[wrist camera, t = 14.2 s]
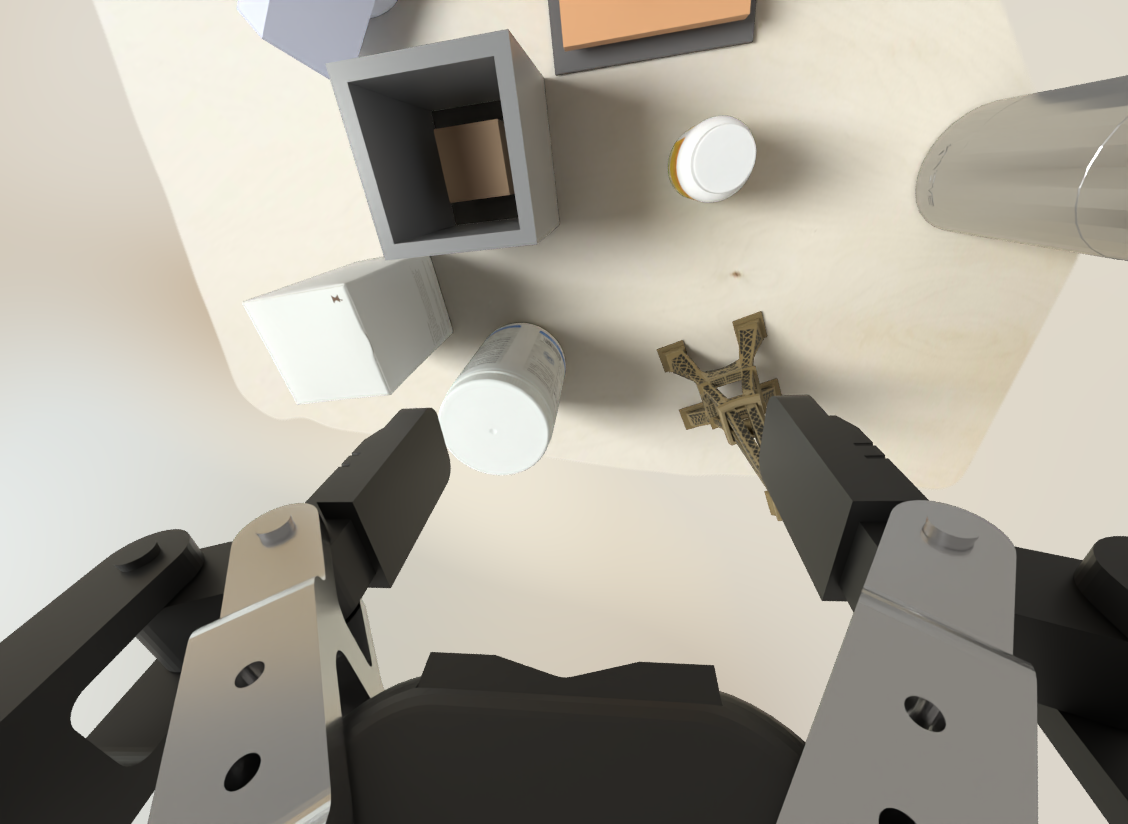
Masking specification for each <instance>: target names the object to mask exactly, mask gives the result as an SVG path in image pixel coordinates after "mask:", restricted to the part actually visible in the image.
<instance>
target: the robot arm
mask: <svg viewBox="0 0 1128 824" xmlns="http://www.w3.org/2000/svg"><path fill="white" fill-rule="evenodd" d="M915 192H916V203H917V206H918V209H919V211H920V213H921V215H922V216H923V217H924V219H925V220H926V221H927V222H929V223H930V224H931V225H933V226H934V227H937V228H939V229H942V230H946V231H952V232H958V233H964V234H970V235H976V236H980V237H986V238H992V239H998V240H1004V241H1010V242H1016V243H1022V244H1028V245H1034V246H1040V247H1046V248H1052V249H1058V250H1064V251H1070V252H1076V253H1082V254H1088V255H1094V256H1100V257H1106V258H1112V259H1117V260H1125V261H1128V75H1127V76H1122V77H1116V78H1112V79H1107V80H1101V81H1096V82H1091V83H1086V84H1081V85H1076V86H1070V87H1066V88H1060V89H1055V90H1049V91H1044V92H1038V93H1033V94H1028V95H1023V96H1018V97H1013V98H1008V99H1002V100H997V101H994V102H991V103H988V104H985V105H982V106H980V107H978V108H976V109H974V110H972V111H970V112H969V113H967V114H965V115H964V116H963V117H961V118H960V119H959V120H957V121H956V122H954V123H953V124H952V125H951V126H950V127H949V128H948V129H947V130H946V131H945V132H944V133H943V134H942V135H941V136H940V137H939V138H938V140H937V141H936V142H935V143H934V145H933V146H932V147H931V149H930V150H929V152H928V154H927V156H926V157H925V159H924V161H923V163H922V165H921V168H920V171H919V174H918V177H917V183H916V189H915ZM759 466H760V473H761V476H762V479H763V482H764V484H765V486H766V488H767V490H768V492H769V494H770V496H771V498H772V500H773V502H774V504H775V506H776V508H777V510H778V512H779V514H780V516H781V518H782V520H783V522H784V524H785V526H786V528H787V530H788V533H789V535H790V536H791V539H792V541H793V543H794V545H795V547H796V549H797V551H798V553H799V555H800V557H801V559H802V561H803V563H804V565H805V567H806V569H807V571H808V573H809V575H810V577H811V579H812V581H813V583H814V586H815V588H816V590H817V592H818V594H819V596H820V598H821V600H822V601H848V603H849V605H850V607H851V609H852V610H853V612H854V613H853V616H852V619H851V621H850V624H849V627H848V629H847V632H846V635H845V638H844V640H843V643H842V646H841V648H840V651H839V654H838V656H837V659H836V662H835V664H834V667H833V670H832V673H831V675H830V678H829V681H828V684H827V686H826V689H825V692H824V694H823V697H822V700H821V703H820V705H819V708H818V711H817V713H816V716H815V719H814V721H813V724H812V727H811V729H810V732H809V735H808V737H807V740H806V742H804V741H803V740H802V739H801V738H800V737H799V736H797V735H796V734H795V733H794V732H793V731H792V730H790V729H789V728H788V727H786V726H785V725H783V724H782V723H781V722H779V721H778V720H776V719H775V718H774V717H772V716H771V715H769V714H767V713H766V712H764V711H762V710H761V709H759V708H757V707H755V706H753V705H752V704H750V703H748V702H746V701H743V700H741V699H739V698H737V697H735V696H732V695H730V694H727V693H724V692H721V691H719V688H718V683H717V678H716V673H715V668H714V665H695V664H674V663H652V662H637V663H632V664H628V665H623V666H619V667H614V668H610V669H605V670H601V671H596V672H592V673H587V674H583V675H578V676H574V677H567V678H563V677H558V676H554V675H552V674H548V673H546V672H543V671H540V670H537V669H534V668H531V667H528V666H525V665H523V664H520V663H517V662H514V661H511V660H508V659H505V658H502V657H499V656H496V655H482V654H461V653H460V654H459V653H438V652H431V653H430V655H429V658H428V660H427V663H426V666H425V668H424V671H423V673H422V676H421V677H416V678H413V679H410V680H408V681H405V682H402V683H399V684H397V685H395V686H393V687H391V688H388V689H387V690H384V687H383V684H382V681H381V677H380V672H379V667H378V663H377V658H376V653H375V648H374V644H373V639H372V634H371V629H370V624H369V620H368V615H367V610H366V606H365V604H364V602H363V600H362V596H363V595H364V593H365V591H366V590H367V588H368V587H369V588H370V587H371V588H391V587H392V585H393V583H394V581H395V579H396V577H397V576H398V574H399V572H400V570H401V568H402V566H403V564H404V563H405V561H406V559H407V557H408V555H409V553H410V551H411V550H412V548H413V546H414V544H415V542H416V540H417V539H418V537H419V535H420V533H421V531H422V529H423V527H424V526H425V524H426V522H427V520H428V518H429V516H430V514H431V513H432V511H433V509H434V507H435V505H436V503H437V501H438V500H439V498H440V496H441V494H442V492H443V490H444V488H445V487H446V485H447V483H448V480H449V476H450V459H449V454H448V451H447V447H446V444H445V440H444V437H443V433H442V429H441V426H440V422H439V419H438V416H437V413H436V412H435V410H434V409H432V408H414V409H401V410H400V411H399V412H398V413H397V414H396V415H395V416H394V417H393V418H392V419H391V421H390V422H389V423H388V424H387V425H386V426H385V427H384V428H383V429H381V430H379V431H378V432H376V433H374V434H373V435H371V436H370V437H368V438H367V439H365V440H364V441H363V442H362V443H361V444H360V445H359V446H358V447H357V448H356V449H355V451H354V452H352V456H349V457H348V458H347V459H346V460H345V461H344V462H343V463H342V467H338V468H337V469H336V470H335V471H334V473H333V474H332V475H331V476H330V477H329V478H328V479H327V480H326V481H325V482H324V483H323V484H322V485H321V486H320V487H319V488H318V489H317V491H316V492H315V493H314V494H313V495H312V496H311V497H310V498H309V499H308V500H307V501H306V502H305V503H295V504H289V505H285V506H282V507H279V508H276V509H273V510H271V511H269V512H267V513H265V514H263V515H261V516H259V517H258V518H256V519H255V520H253V521H252V522H250V523H249V524H248V525H246V526H245V527H244V528H243V529H242V530H241V531H240V532H239V533H238V534H237V536H236V537H235V539H234V540H233V541H232V542H227V543H223V544H219V545H215V546H210V547H206V548H201V549H199V548H198V546H197V545H196V543H195V542H194V541H193V539H192V538H191V536H190V535H189V534H188V533H187V532H186V531H184V530H179V529H173V530H166V531H161V532H158V533H154V534H152V535H149V536H146V537H144V538H141V539H139V540H136V541H134V542H132V543H130V544H128V545H127V546H125V547H123V548H121V549H120V550H118V551H117V552H115V553H113V554H112V555H110V556H109V557H108V558H106V559H105V560H104V561H103V562H101V563H100V564H99V565H97V566H96V567H95V568H94V569H92V570H91V571H90V572H89V573H87V574H86V575H85V576H84V577H82V578H81V579H80V580H79V581H77V582H76V583H75V584H73V585H72V586H71V587H70V588H68V589H67V590H66V591H65V592H63V593H62V594H61V595H60V596H58V597H57V598H56V599H55V600H53V601H52V602H51V603H50V604H48V605H47V606H46V607H45V608H43V609H42V610H41V611H40V612H38V613H37V614H36V615H34V616H33V617H32V618H31V619H29V620H28V621H27V622H26V623H24V624H23V625H22V626H21V627H19V628H18V629H17V630H16V631H14V632H13V633H12V634H11V635H9V636H8V637H7V638H6V639H4V640H3V641H2V642H1V643H0V824H131V823H132V822H133V820H134V819H135V817H136V816H137V815H138V813H139V812H140V810H141V809H142V807H143V806H144V805H145V803H146V802H147V800H148V799H149V798H150V796H151V794H152V793H153V792H154V790H155V792H154V797H153V801H152V806H151V810H150V815H149V819H148V824H1038V764H1037V763H1038V760H1037V759H1038V756H1037V723H1038V725H1039V726H1040V728H1041V729H1042V730H1043V732H1044V733H1045V734H1046V736H1047V737H1048V739H1049V740H1050V742H1051V743H1052V744H1053V746H1054V747H1055V749H1056V750H1057V751H1058V753H1059V754H1060V756H1061V757H1062V758H1063V760H1064V761H1065V762H1066V764H1067V765H1068V767H1069V768H1070V770H1071V771H1072V772H1073V774H1074V775H1075V777H1076V778H1077V779H1078V781H1079V782H1080V784H1081V785H1082V786H1083V788H1084V789H1085V790H1086V792H1087V793H1088V795H1089V796H1090V797H1091V799H1092V800H1093V802H1094V803H1095V804H1096V806H1097V807H1098V809H1099V810H1100V811H1101V813H1102V814H1103V816H1104V817H1105V818H1106V819H1107V821H1108V823H1109V824H1128V537H1126V536H1113V537H1106V538H1103V539H1100V540H1099V541H1097V542H1096V543H1095V544H1094V546H1093V547H1092V548H1091V550H1090V551H1089V553H1088V554H1087V556H1086V557H1085V558H1084V559H1083V560H1078V559H1074V558H1069V557H1063V556H1059V555H1054V554H1049V553H1043V552H1039V551H1034V550H1029V549H1023V548H1019V547H1014V545H1013V543H1012V542H1011V541H1010V539H1009V538H1008V537H1007V536H1006V535H1005V534H1004V533H1003V532H1002V531H1001V530H1000V529H998V528H997V527H996V526H995V525H993V524H992V523H990V522H988V521H987V520H985V519H983V518H981V517H980V516H978V515H976V514H974V513H971V512H969V511H967V510H964V509H961V508H958V507H956V506H952V505H949V504H945V503H940V502H935V501H929V500H928V499H927V498H926V497H925V496H924V495H923V494H922V493H921V492H920V491H919V490H918V489H917V488H916V487H915V486H914V485H913V483H912V482H911V481H910V480H909V479H908V478H907V477H906V476H905V475H904V474H903V473H902V472H901V471H900V470H899V469H898V468H897V467H896V466H895V465H894V464H893V463H892V462H891V461H890V460H889V459H888V458H887V459H885V455H884V454H883V453H882V452H881V451H880V450H879V448H878V447H877V446H873V442H872V441H871V440H870V439H869V438H868V437H867V436H866V435H865V434H864V433H863V432H862V431H861V430H860V429H859V428H858V427H856V426H854V425H852V424H851V423H849V422H847V421H845V420H843V419H841V418H839V417H838V416H828V415H827V414H826V412H825V411H824V410H823V409H822V408H821V407H820V406H819V405H818V404H817V402H816V401H815V400H814V399H813V398H812V397H811V396H810V395H785V396H771V397H770V399H769V401H768V403H767V408H766V414H765V421H764V427H763V433H762V440H761V446H760V453H759ZM134 637H136V638H137V639H139V641H140V642H141V643H142V644H143V645H144V646H145V647H146V648H147V649H148V650H149V651H150V652H151V653H152V654H153V655H154V656H155V657H156V658H157V659H156V660H155V662H153V664H152V665H151V666H150V667H149V668H148V669H147V670H146V671H145V673H144V674H143V675H142V676H141V677H140V678H139V679H138V681H137V682H136V683H135V684H134V685H133V686H132V687H131V689H129V691H128V692H127V693H126V694H125V695H124V696H123V697H122V698H121V700H120V701H119V702H118V703H117V704H116V705H115V706H114V707H113V709H112V710H111V711H110V712H109V713H108V714H107V715H106V716H105V718H104V719H103V720H102V721H101V722H100V723H99V724H98V725H97V727H96V728H95V729H94V730H93V731H92V732H91V734H89V736H88V737H87V738H84V737H83V736H81V734H79V733H78V732H77V731H75V730H74V729H73V727H72V725H71V721H70V717H71V711H72V708H73V705H74V703H75V701H76V700H77V698H78V696H79V695H80V694H81V692H82V691H83V690H84V689H85V688H86V687H87V686H88V685H89V684H90V682H91V681H92V680H93V679H94V678H95V677H96V676H97V675H98V674H99V673H100V672H101V671H102V670H103V669H104V668H105V667H106V666H107V665H108V664H109V663H110V662H111V661H112V660H113V659H114V658H115V657H116V656H117V655H118V654H119V653H120V652H121V651H122V650H123V649H124V648H125V647H126V646H127V645H128V644H129V642H131V641H132V640H133V638H134Z"/></svg>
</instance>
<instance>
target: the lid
mask: <svg viewBox="0 0 1128 824" xmlns="http://www.w3.org/2000/svg"><path fill="white" fill-rule="evenodd" d="M559 4H560V15H561V26H562V37H563V48H564V50H565V52H566V51H571V50H577V49H583V48H588V47H594V46H599V45H605V44H610V43H616V42H621V41H627V40H633V39H638V38H644V37H649V36H655V35H660V34H666V33H672V32H677V31H683V30H688V29H694V28H699V27H705V26H711V25H716V24H722V23H727V22H733V21H738V20H744V19H746V18H747V16H748V15H749V14H750V4H751V0H559Z"/></svg>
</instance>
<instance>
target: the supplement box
mask: <svg viewBox="0 0 1128 824" xmlns="http://www.w3.org/2000/svg"><path fill="white" fill-rule="evenodd" d="M242 304H243V306H244V308H245V309H246V311H247V313H248V315H249V317H250V318H251V320H252V322H253V324H254V326H255V328H256V329H257V331H258V333H259V335H260V337H261V339H262V340H263V342H264V344H265V346H266V348H267V349H268V351H269V353H270V355H271V357H272V359H273V361H274V362H275V364H276V366H277V368H278V370H279V372H280V374H281V375H282V377H283V379H284V381H285V383H286V385H287V387H288V388H289V390H290V392H291V394H292V396H293V398H294V400H295V402H296V404H297V405H299V404H308V403H317V402H325V401H333V400H342V399H353V398H363V397H373V396H384V395H391V394H392V393H393V392H394V391H395V390H396V389H397V388H398V387H399V386H400V385H401V384H402V382H403V381H404V380H405V379H406V378H407V377H408V376H409V375H410V374H411V373H413V372H414V371H415V369H416V368H417V367H418V366H419V365H420V364H422V362H423V361H424V360H425V359H426V358H427V357H428V356H429V355H430V354H431V353H432V352H433V351H434V350H436V349H437V348H438V347H439V346H440V345H441V344H442V343H443V342H444V341H445V340H446V339H447V338H448V337H449V336H450V335H451V334H452V333H453V329H452V326H451V323H450V319H449V316H448V313H447V310H446V306H445V303H444V300H443V297H442V293H441V290H440V287H439V284H438V280H437V277H436V274H435V271H434V268H433V264H432V261H431V258H430V256H424V257H415V258H406V259H397V260H388V261H385V258H384V257H379V258H373V259H367V260H363V261H358V262H354V263H351V264H348V265H345V266H342V267H340V268H337V269H334V270H331V271H328V272H325V273H322V274H320V275H317V276H314V277H311V278H308V279H306V280H303V281H300V282H297V283H294V284H292V285H289V286H286V287H283V288H280V289H277V290H275V291H272V292H269V293H266V294H263V295H260V296H257V297H254V298H251V299H249V300H246V301H243V302H242Z"/></svg>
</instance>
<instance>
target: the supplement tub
mask: <svg viewBox="0 0 1128 824" xmlns="http://www.w3.org/2000/svg"><path fill="white" fill-rule="evenodd" d="M565 372H566V361H565V356H564V353H563V350H562V348H561V346H560V344H559V343H558V342H557V340H556V339H555V338H554V337H553V336H552V335H551V334H550V333H548V332H547V331H546V330H544V329H542V328H540V327H538V326H536V325H533V324H528V323H513V324H508V325H505V326H502V327H500V328H498V329H497V330H495V331H494V332H492V333H491V334H490V335H489V337H488V338H487V339H486V340H485V341H484V343H483V344H482V346H481V347H480V348H479V350H478V351H477V352H476V354H475V355H474V356H473V358H472V359H471V360H470V362H469V363H468V364H467V366H466V367H465V368H464V370H463V371H462V372H461V374H460V375H459V377H458V378H457V379H456V381H455V382H454V383H453V385H452V386H451V388H450V389H449V391H448V393H447V394H446V397H445V399H444V401H443V403H442V405H441V408H440V411H439V422H440V426H441V429H442V433H443V437H444V440H445V444H446V446H447V448H448V449H449V450H450V452H451V453H452V454H453V455H454V456H455V457H456V458H457V459H458V460H460V461H461V462H462V463H464V464H465V465H467V466H469V467H470V468H472V469H475V470H477V471H480V472H483V473H487V474H492V475H511V474H516V473H519V472H522V471H525V470H527V469H529V468H530V467H532V466H533V465H535V464H536V463H537V462H538V461H539V460H540V459H541V457H542V456H543V455H544V453H545V451H546V449H547V447H548V444H549V442H550V440H551V437H552V433H553V429H554V425H555V420H556V415H557V411H558V406H559V401H560V397H561V391H562V387H563V382H564V377H565Z"/></svg>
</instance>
